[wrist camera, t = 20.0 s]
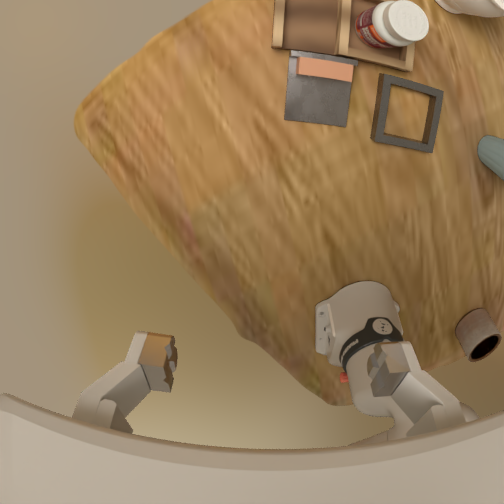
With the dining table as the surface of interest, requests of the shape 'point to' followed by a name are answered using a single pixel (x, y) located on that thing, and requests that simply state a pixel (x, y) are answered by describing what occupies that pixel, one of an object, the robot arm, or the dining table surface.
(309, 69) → the pink rectangular block
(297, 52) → the grey metal lipped plate
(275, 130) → the dining table surface
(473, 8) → the jar
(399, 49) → the rack
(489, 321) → the planter
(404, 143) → the socket collar
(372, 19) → the pill bottle
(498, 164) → the cup
